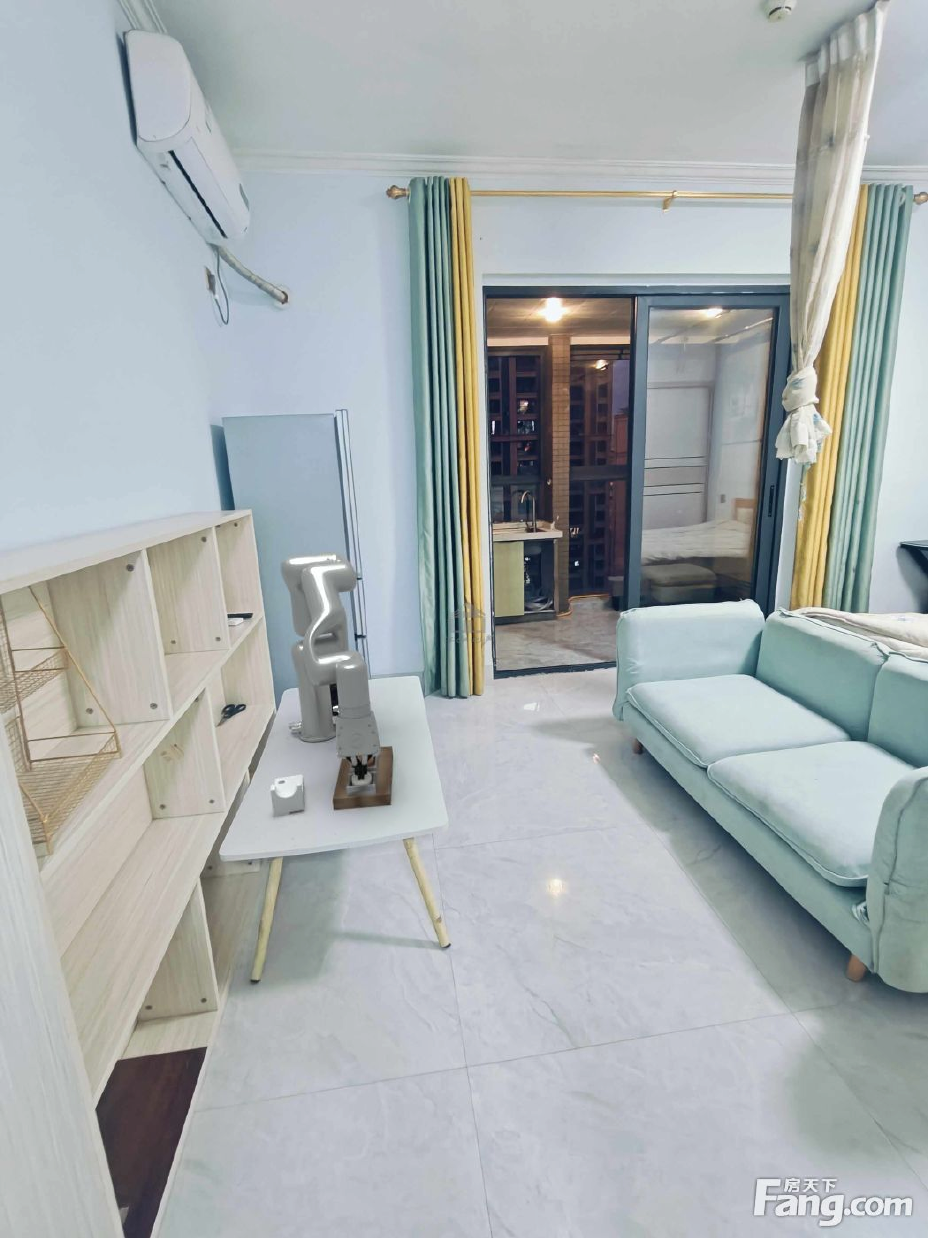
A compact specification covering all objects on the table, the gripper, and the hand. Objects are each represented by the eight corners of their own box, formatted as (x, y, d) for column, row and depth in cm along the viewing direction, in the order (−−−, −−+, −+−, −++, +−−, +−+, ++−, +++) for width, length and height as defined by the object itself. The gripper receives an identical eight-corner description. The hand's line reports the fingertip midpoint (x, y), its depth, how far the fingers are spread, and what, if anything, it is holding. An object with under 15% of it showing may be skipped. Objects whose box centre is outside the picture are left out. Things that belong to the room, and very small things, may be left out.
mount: (333, 810, 142) (331, 790, 141) (344, 759, 167) (342, 742, 166) (390, 804, 144) (389, 785, 142) (393, 755, 169) (391, 738, 167)
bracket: (304, 812, 142) (301, 785, 140) (274, 818, 141) (270, 790, 139) (304, 786, 154) (301, 760, 153) (276, 791, 153) (273, 765, 151)
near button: (351, 793, 143) (350, 782, 143) (353, 783, 148) (352, 772, 147) (371, 791, 144) (370, 781, 143) (372, 781, 149) (372, 771, 148)
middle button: (354, 767, 152) (353, 757, 151) (355, 758, 156) (354, 748, 156) (373, 766, 152) (372, 755, 151) (374, 757, 157) (373, 747, 156)
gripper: (321, 718, 136) (329, 787, 141) (385, 713, 138) (391, 782, 142) (326, 705, 144) (333, 772, 148) (386, 701, 145) (391, 767, 149)
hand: (361, 776), depth 145 cm, fingers closed
